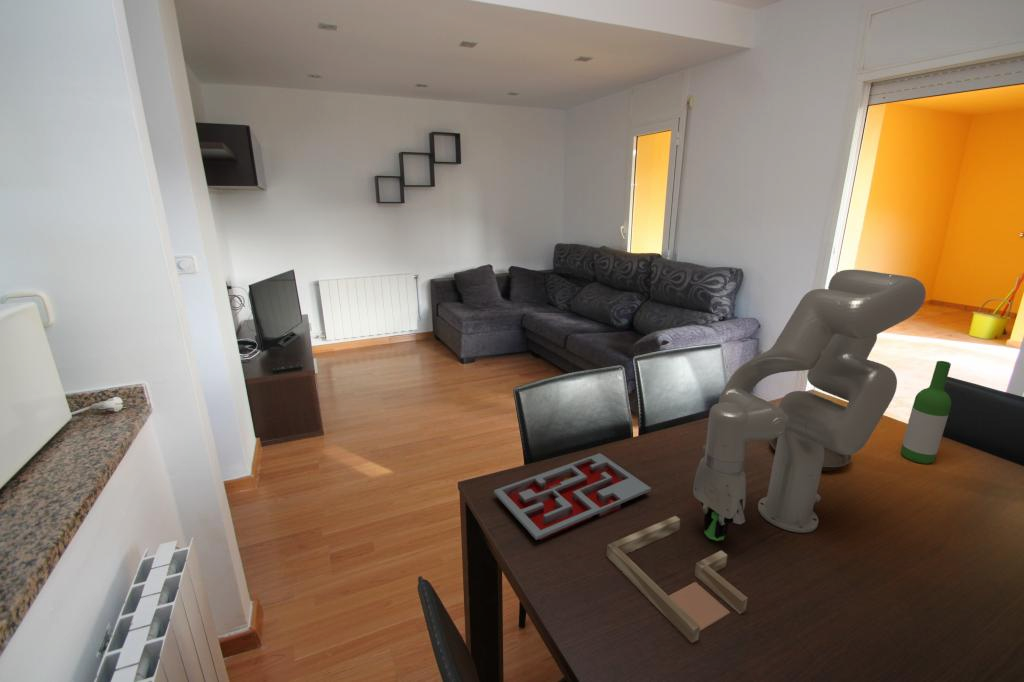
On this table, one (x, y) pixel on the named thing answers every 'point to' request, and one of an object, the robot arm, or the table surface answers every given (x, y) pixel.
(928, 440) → the wine bottle
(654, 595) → the bent track
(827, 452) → the plant saucer
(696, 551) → the table surface
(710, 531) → the game piece
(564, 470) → the maze game
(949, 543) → the table surface
